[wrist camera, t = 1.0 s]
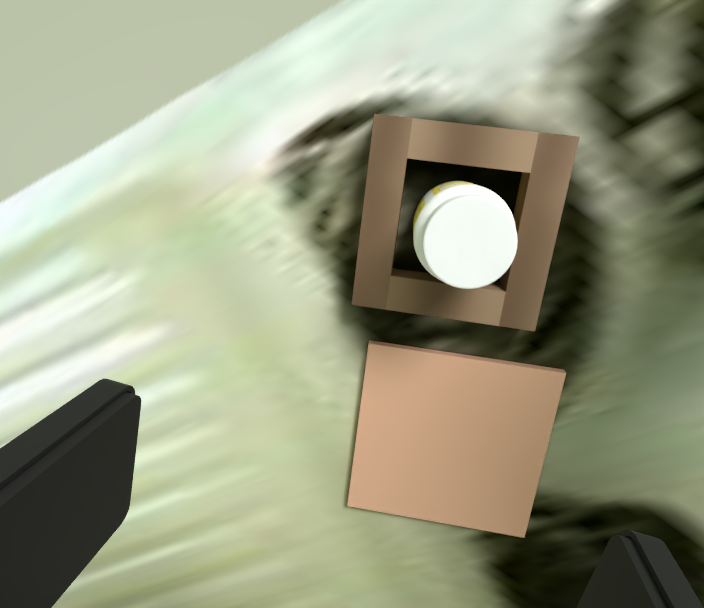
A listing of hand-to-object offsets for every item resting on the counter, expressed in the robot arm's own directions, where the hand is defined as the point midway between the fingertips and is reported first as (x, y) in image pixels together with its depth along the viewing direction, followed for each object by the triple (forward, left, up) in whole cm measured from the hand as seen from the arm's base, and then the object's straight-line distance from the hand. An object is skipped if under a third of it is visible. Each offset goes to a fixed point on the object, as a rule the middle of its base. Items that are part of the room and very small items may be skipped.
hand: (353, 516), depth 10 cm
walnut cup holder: (-3, -4, -22) cm, 22 cm away
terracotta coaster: (-5, +10, -22) cm, 25 cm away
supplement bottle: (-3, -4, -22) cm, 23 cm away
